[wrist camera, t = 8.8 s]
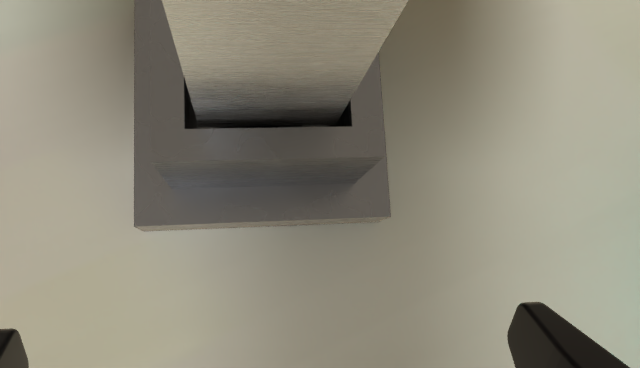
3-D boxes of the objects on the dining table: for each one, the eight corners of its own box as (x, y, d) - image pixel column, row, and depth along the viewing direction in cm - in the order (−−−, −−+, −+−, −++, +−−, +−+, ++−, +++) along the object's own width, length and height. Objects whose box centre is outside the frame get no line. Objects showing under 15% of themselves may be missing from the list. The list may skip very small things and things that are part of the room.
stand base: (378, 221, 24) (448, 191, 16) (143, 231, 23) (86, 202, 15) (363, 9, 26) (420, -118, 18) (143, 6, 25) (92, -134, 16)
